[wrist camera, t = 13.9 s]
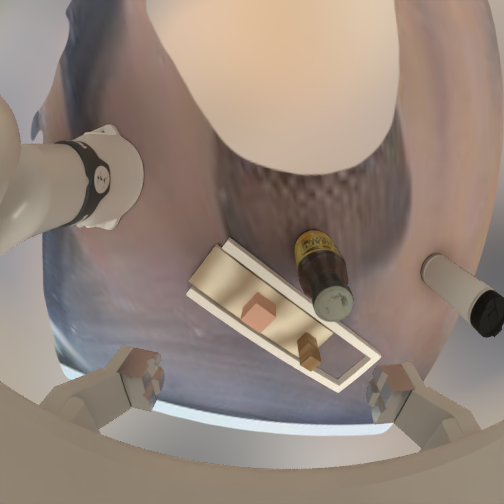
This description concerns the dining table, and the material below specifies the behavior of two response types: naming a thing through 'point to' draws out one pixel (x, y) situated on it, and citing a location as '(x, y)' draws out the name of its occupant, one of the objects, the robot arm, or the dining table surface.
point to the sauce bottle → (323, 275)
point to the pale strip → (248, 284)
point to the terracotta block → (258, 312)
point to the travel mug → (465, 294)
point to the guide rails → (302, 302)
